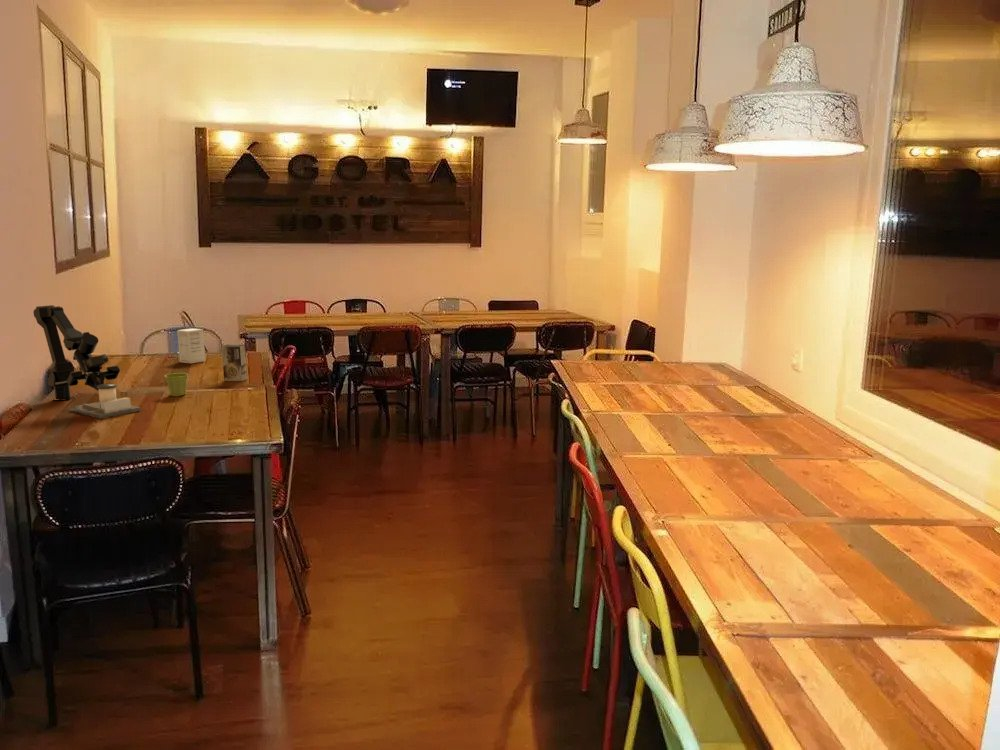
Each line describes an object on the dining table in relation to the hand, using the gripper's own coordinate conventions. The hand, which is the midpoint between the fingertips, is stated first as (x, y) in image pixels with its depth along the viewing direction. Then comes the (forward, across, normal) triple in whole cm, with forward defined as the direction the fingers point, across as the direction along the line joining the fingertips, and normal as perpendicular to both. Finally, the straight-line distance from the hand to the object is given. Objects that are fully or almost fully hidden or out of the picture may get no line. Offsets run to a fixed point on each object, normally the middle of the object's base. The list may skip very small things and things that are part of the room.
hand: (103, 392), depth 317 cm
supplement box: (-45, +83, +55) cm, 110 cm away
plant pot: (+3, +33, +8) cm, 34 cm away
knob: (+6, 0, +2) cm, 6 cm away
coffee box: (-3, +68, +14) cm, 69 cm away
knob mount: (+6, 0, +5) cm, 7 cm away
